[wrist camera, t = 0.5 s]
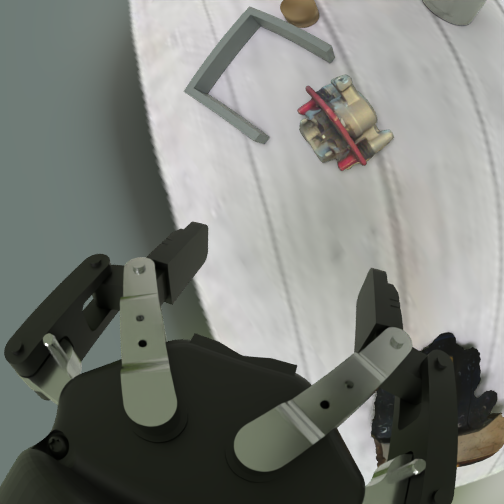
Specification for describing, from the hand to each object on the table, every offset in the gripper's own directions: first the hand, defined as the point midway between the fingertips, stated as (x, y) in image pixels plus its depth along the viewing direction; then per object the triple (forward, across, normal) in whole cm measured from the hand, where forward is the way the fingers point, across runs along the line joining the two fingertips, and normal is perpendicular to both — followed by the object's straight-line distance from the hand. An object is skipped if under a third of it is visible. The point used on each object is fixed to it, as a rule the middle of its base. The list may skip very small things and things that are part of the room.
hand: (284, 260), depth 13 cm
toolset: (+14, -37, +34) cm, 53 cm away
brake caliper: (+27, -2, -4) cm, 27 cm away
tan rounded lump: (+32, +6, -20) cm, 38 cm away
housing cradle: (+29, +10, -9) cm, 32 cm away
